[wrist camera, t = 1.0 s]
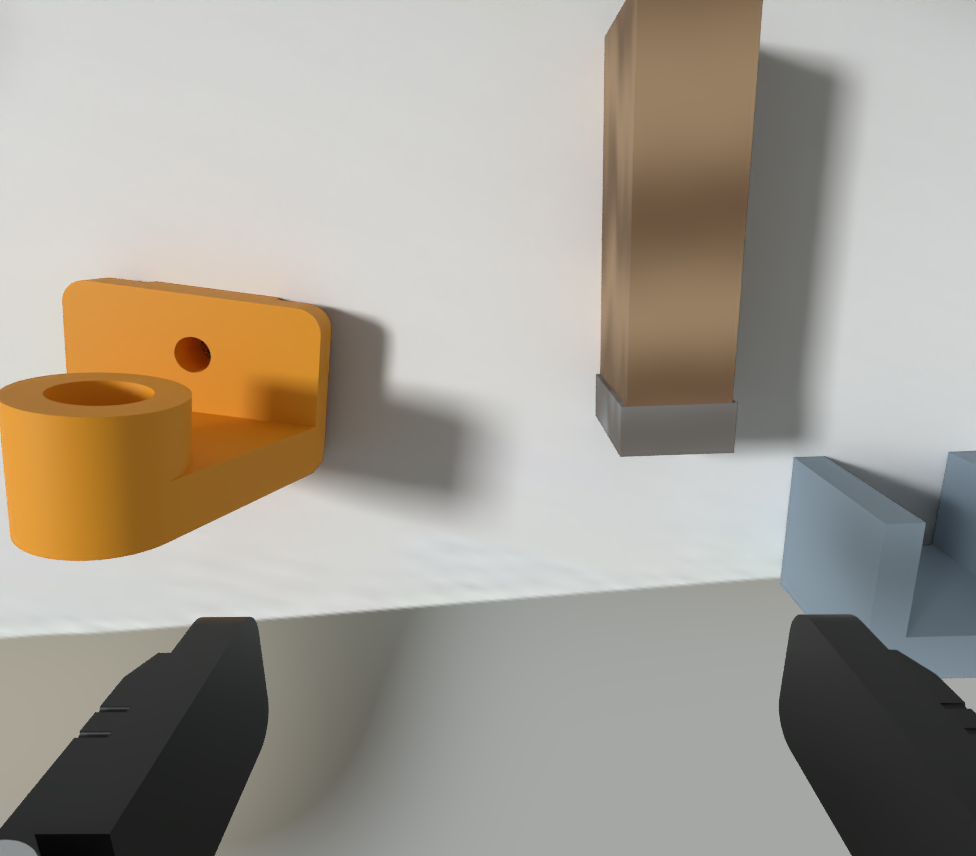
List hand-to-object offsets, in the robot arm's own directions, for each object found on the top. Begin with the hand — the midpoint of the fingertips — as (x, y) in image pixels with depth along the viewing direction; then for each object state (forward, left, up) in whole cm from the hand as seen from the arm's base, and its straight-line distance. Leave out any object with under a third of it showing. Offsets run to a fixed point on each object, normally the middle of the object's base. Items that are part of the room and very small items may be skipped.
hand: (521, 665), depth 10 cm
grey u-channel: (+8, +19, -21) cm, 29 cm away
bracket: (-1, -13, -22) cm, 25 cm away
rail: (-6, +7, -21) cm, 23 cm away
